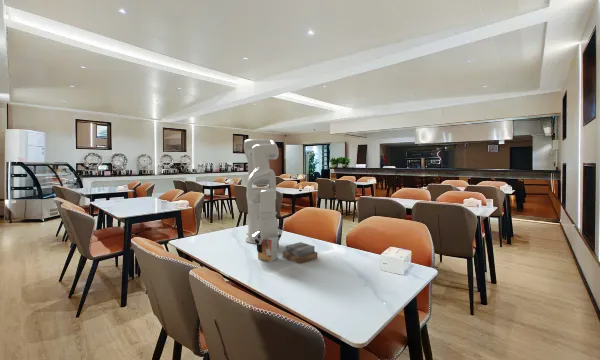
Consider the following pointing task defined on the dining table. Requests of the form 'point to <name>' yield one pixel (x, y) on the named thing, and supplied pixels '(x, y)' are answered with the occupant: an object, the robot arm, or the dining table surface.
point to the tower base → (299, 259)
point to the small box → (269, 249)
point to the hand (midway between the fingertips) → (268, 250)
